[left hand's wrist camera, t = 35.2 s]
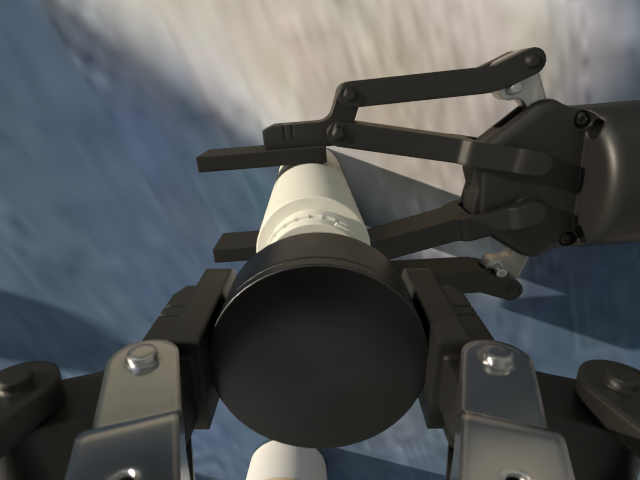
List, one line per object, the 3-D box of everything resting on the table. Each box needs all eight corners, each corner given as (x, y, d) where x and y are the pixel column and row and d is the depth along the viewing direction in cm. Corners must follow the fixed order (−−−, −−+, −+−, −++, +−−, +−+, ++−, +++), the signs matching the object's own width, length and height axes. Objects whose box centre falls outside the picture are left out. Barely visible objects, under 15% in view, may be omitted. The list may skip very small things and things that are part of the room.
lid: (314, 190, 10) (312, 216, 8) (449, 313, 11) (475, 361, 9) (189, 321, 11) (163, 369, 9) (323, 419, 12) (323, 480, 10)
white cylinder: (320, 215, 30) (334, 345, 15) (268, 185, 29) (227, 291, 14) (352, 164, 29) (403, 250, 14) (299, 131, 28) (291, 184, 13)
